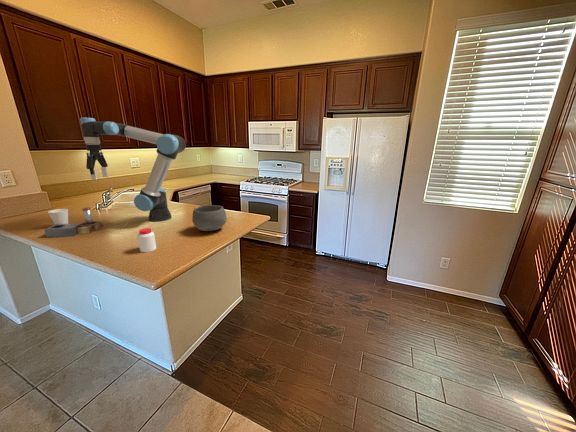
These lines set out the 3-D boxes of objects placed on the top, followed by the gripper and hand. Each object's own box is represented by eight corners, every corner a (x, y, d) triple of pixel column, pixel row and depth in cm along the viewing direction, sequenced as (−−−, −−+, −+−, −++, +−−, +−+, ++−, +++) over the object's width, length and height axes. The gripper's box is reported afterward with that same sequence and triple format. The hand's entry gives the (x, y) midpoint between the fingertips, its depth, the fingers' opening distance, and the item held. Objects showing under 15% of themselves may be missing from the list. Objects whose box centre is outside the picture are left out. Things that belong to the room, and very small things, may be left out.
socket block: (83, 230, 152) (82, 223, 150) (74, 236, 142) (72, 228, 141) (58, 231, 149) (56, 224, 147) (46, 237, 139) (44, 229, 138)
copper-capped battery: (96, 227, 156) (91, 207, 152) (93, 229, 153) (88, 209, 149) (89, 228, 156) (84, 207, 151) (85, 230, 152) (80, 209, 148)
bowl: (233, 227, 161) (232, 206, 157) (211, 238, 143) (209, 214, 138) (209, 223, 169) (207, 202, 165) (186, 232, 151) (183, 209, 147)
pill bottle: (144, 246, 130) (141, 227, 127) (159, 246, 130) (156, 227, 127) (136, 252, 122) (133, 232, 119) (152, 252, 123) (149, 232, 120)
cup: (60, 229, 152) (55, 213, 149) (48, 228, 154) (43, 212, 151) (76, 224, 162) (72, 209, 159) (64, 223, 164) (60, 208, 160)
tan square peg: (92, 231, 150) (91, 225, 149) (89, 233, 147) (87, 227, 145) (72, 232, 148) (70, 226, 146) (68, 234, 144) (66, 228, 143)
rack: (103, 226, 159) (101, 220, 158) (96, 230, 151) (95, 224, 150) (85, 227, 157) (84, 221, 156) (78, 231, 149) (76, 225, 148)
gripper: (96, 144, 159) (103, 175, 166) (73, 144, 136) (82, 181, 142) (109, 144, 161) (115, 175, 167) (88, 144, 138) (96, 180, 144)
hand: (100, 178), depth 155 cm, fingers open, 13 cm apart
